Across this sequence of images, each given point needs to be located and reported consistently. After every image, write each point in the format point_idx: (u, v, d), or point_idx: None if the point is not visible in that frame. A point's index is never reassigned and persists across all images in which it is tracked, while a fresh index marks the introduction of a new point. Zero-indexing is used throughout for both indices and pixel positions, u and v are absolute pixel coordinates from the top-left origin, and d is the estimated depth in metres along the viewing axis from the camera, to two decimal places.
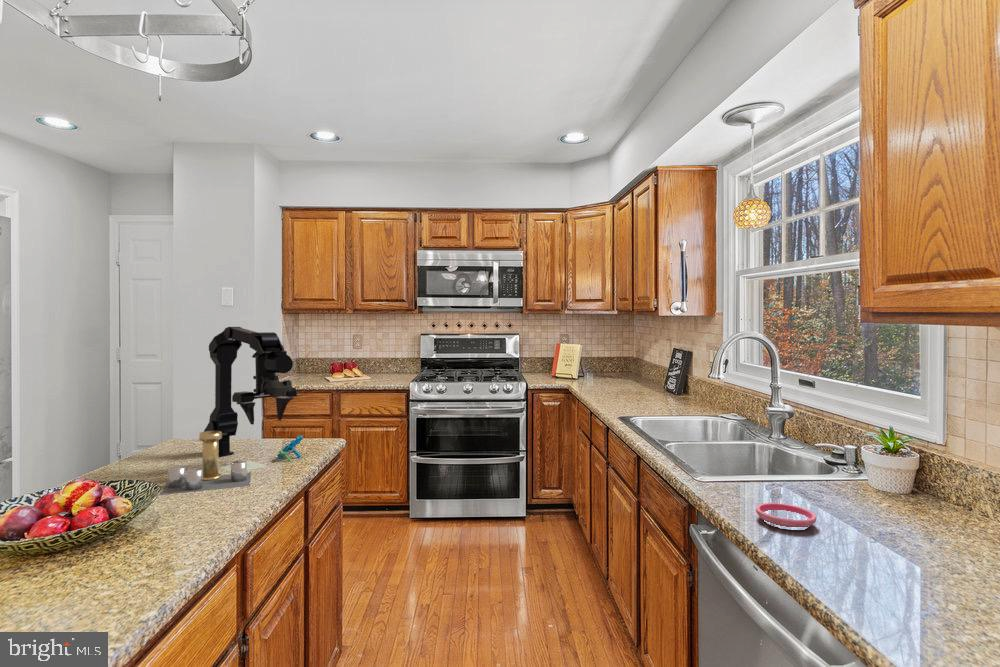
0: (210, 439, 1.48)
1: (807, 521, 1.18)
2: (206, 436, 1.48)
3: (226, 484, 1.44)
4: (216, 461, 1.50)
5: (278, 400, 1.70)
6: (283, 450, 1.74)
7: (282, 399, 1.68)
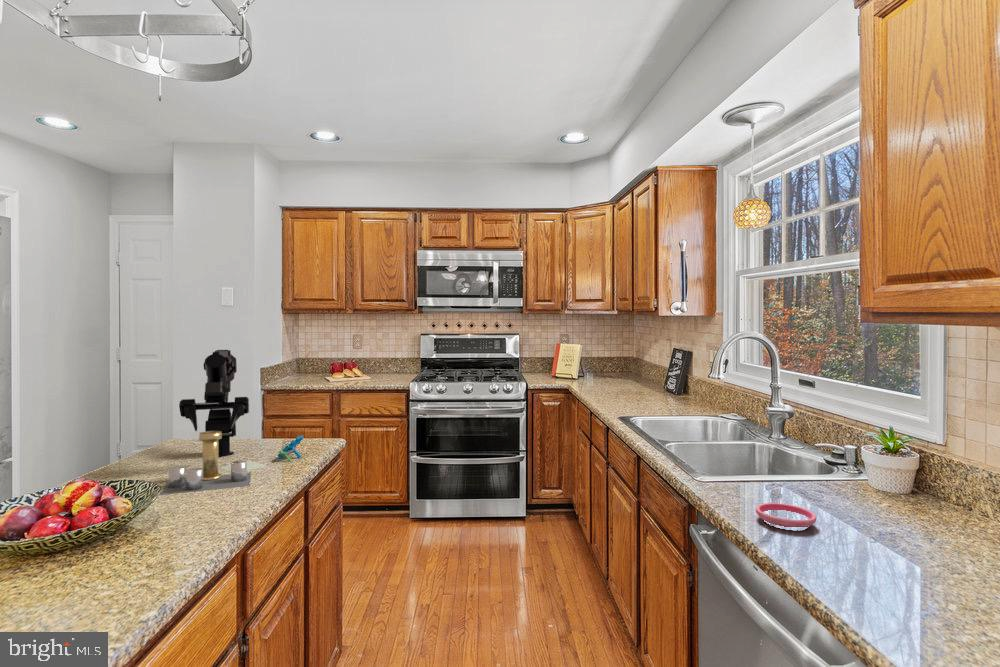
0: (210, 439, 1.48)
1: (807, 521, 1.18)
2: (206, 436, 1.48)
3: (226, 484, 1.44)
4: (216, 461, 1.50)
5: None
6: (283, 450, 1.74)
7: (233, 408, 1.63)
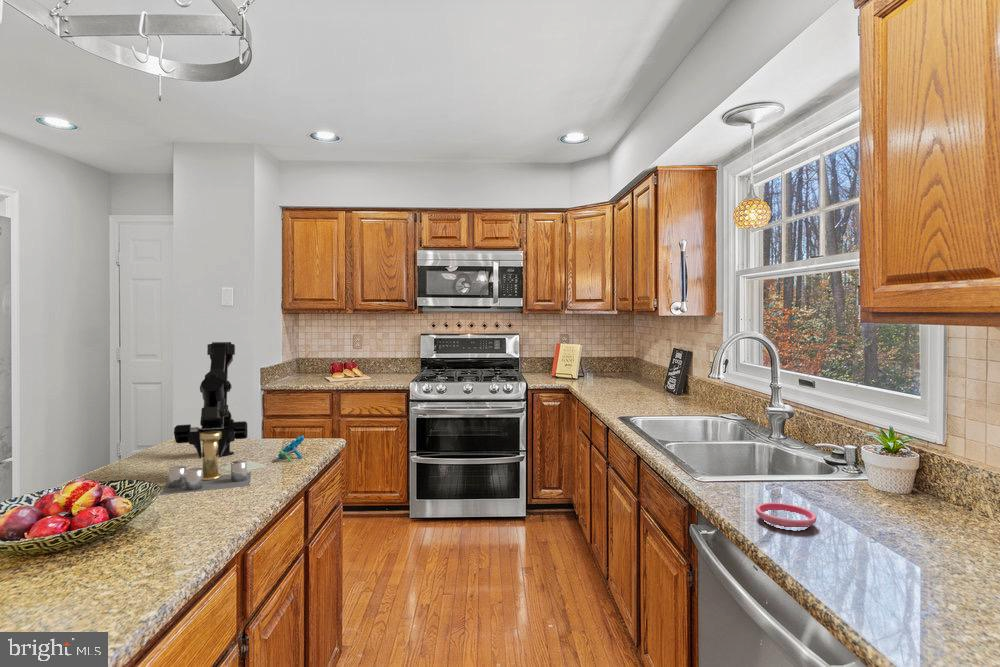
0: (210, 439, 1.48)
1: (807, 521, 1.18)
2: (206, 436, 1.48)
3: (226, 484, 1.44)
4: (216, 461, 1.50)
5: None
6: (283, 450, 1.73)
7: None
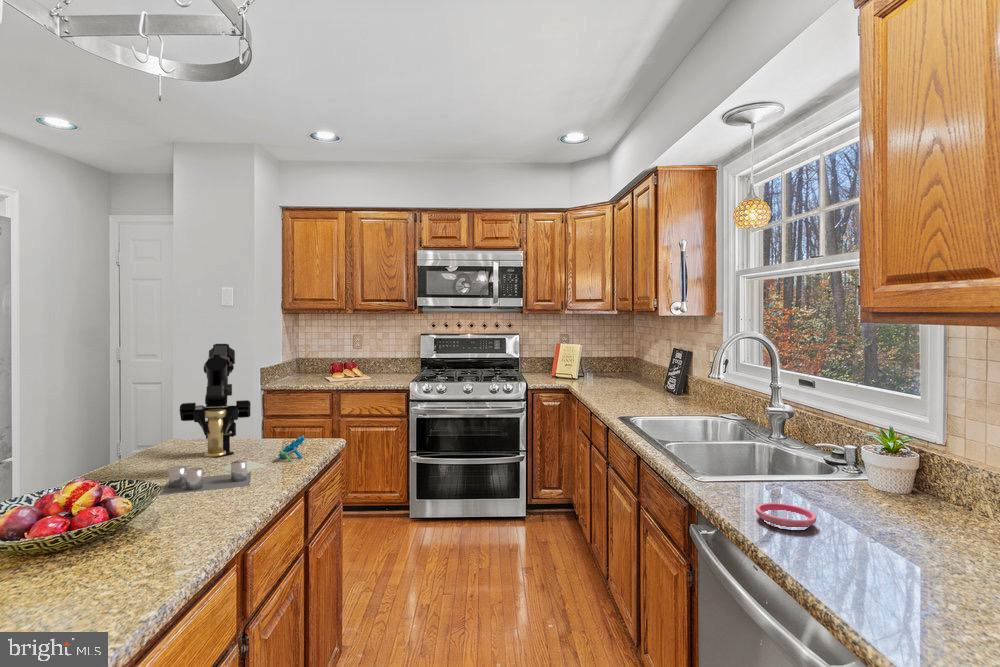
0: (215, 416, 1.53)
1: (807, 521, 1.18)
2: (211, 413, 1.53)
3: (226, 484, 1.44)
4: (221, 438, 1.55)
5: None
6: (284, 450, 1.73)
7: (227, 413, 1.59)
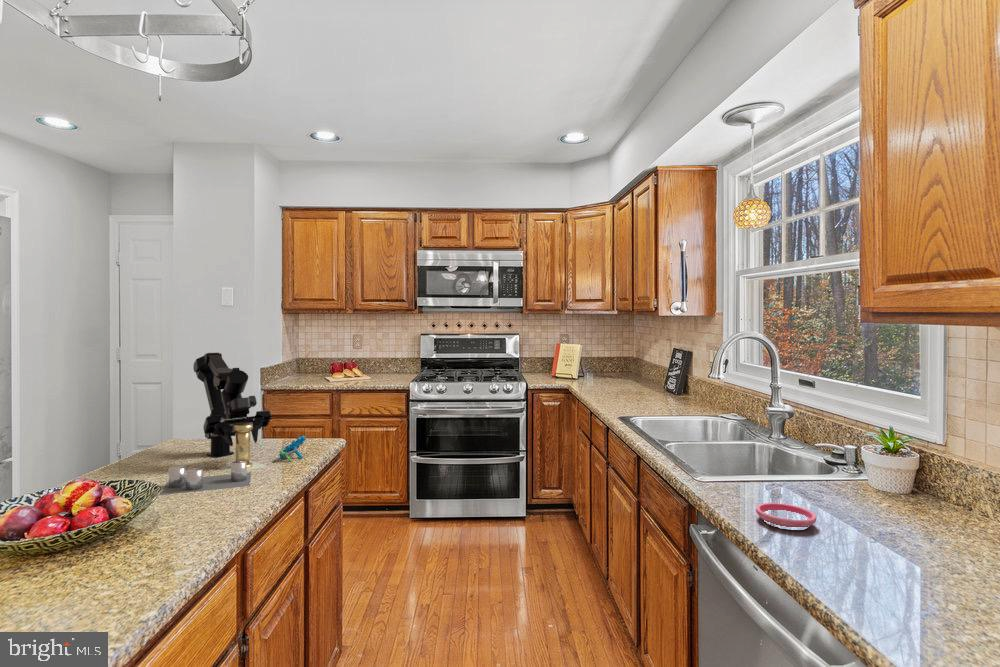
0: (246, 430, 1.61)
1: (807, 521, 1.18)
2: (243, 427, 1.60)
3: (226, 484, 1.44)
4: (249, 450, 1.63)
5: None
6: (284, 450, 1.73)
7: (253, 423, 1.67)
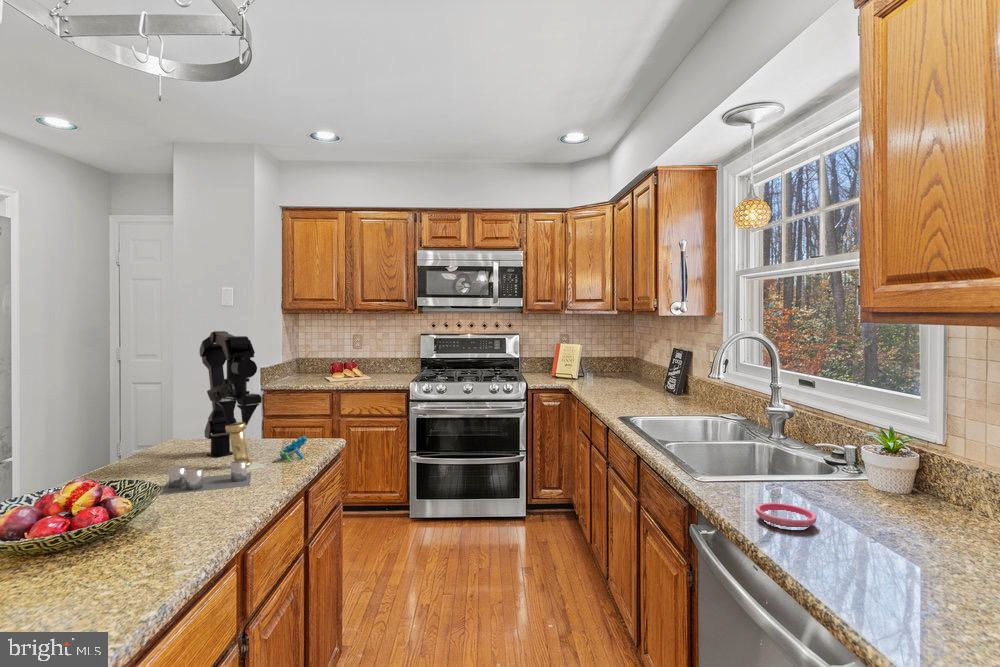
0: (239, 429, 1.60)
1: (806, 521, 1.18)
2: (235, 427, 1.59)
3: (226, 484, 1.44)
4: (246, 448, 1.63)
5: None
6: (284, 450, 1.73)
7: None
